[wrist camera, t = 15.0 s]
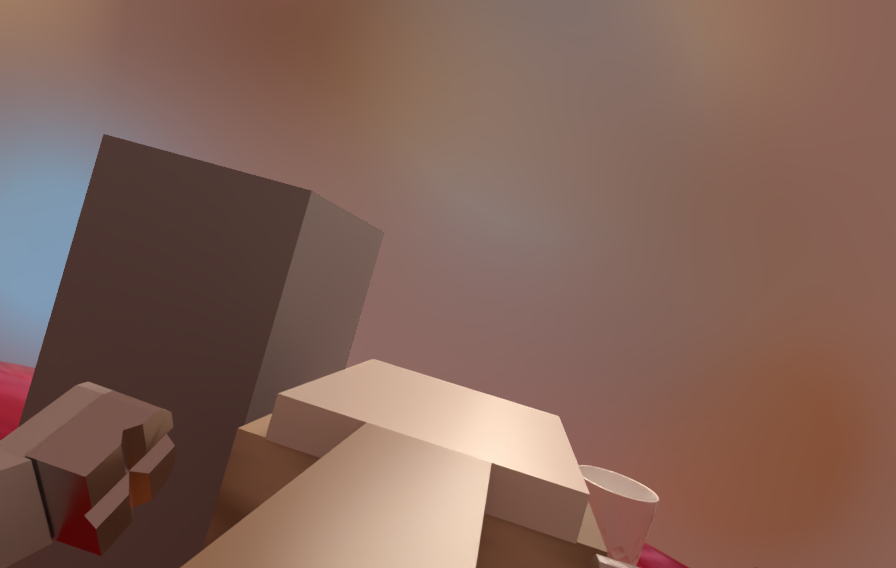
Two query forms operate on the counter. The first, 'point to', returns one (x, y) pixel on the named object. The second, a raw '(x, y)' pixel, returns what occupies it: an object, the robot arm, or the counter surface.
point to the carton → (196, 320)
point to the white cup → (620, 511)
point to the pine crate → (274, 466)
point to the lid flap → (403, 476)
